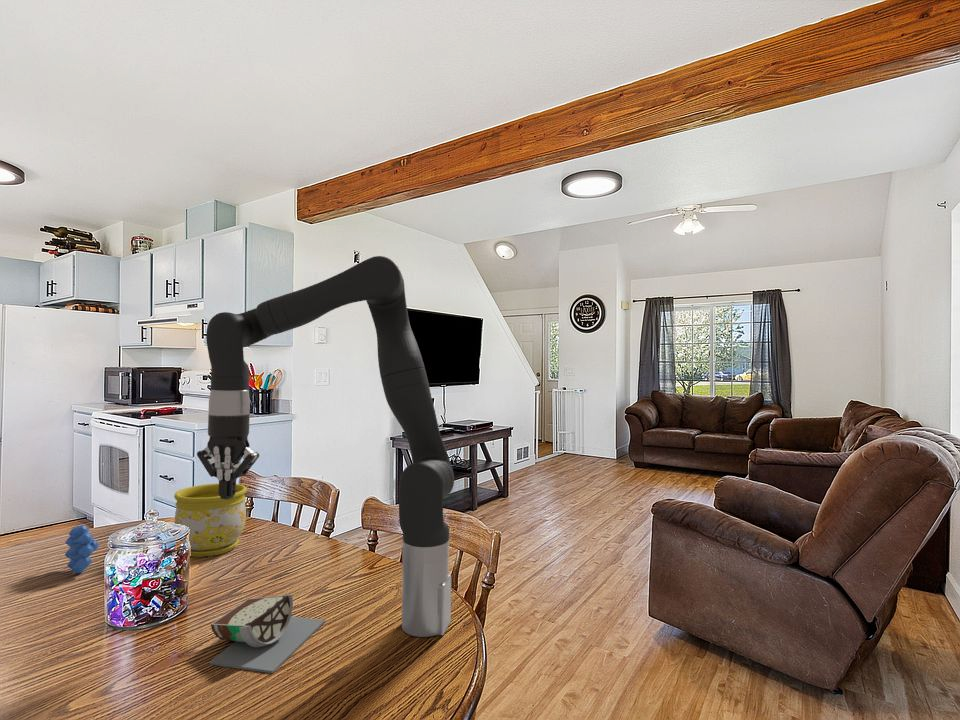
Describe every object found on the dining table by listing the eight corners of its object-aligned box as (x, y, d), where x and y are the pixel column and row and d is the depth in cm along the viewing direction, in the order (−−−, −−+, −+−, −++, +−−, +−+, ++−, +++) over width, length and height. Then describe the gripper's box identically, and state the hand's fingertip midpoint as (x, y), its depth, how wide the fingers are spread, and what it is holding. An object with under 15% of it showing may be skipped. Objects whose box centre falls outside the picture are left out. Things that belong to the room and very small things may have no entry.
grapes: (109, 573, 129) (110, 524, 129) (76, 582, 124) (77, 531, 124) (90, 562, 136) (91, 516, 136) (58, 570, 130) (59, 522, 131)
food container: (210, 662, 94) (255, 662, 91) (203, 628, 94) (248, 627, 91) (258, 625, 106) (299, 624, 103) (253, 595, 106) (293, 593, 103)
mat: (324, 622, 106) (324, 620, 106) (272, 673, 89) (272, 671, 89) (270, 615, 109) (270, 613, 109) (209, 664, 91) (209, 662, 91)
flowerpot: (259, 546, 150) (260, 488, 150) (197, 566, 134) (197, 502, 134) (222, 534, 159) (223, 480, 159) (160, 552, 144) (160, 492, 144)
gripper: (269, 412, 109) (267, 496, 109) (212, 409, 111) (210, 491, 111) (247, 415, 101) (245, 505, 101) (186, 412, 104) (184, 500, 104)
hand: (226, 498), depth 106 cm, fingers closed
